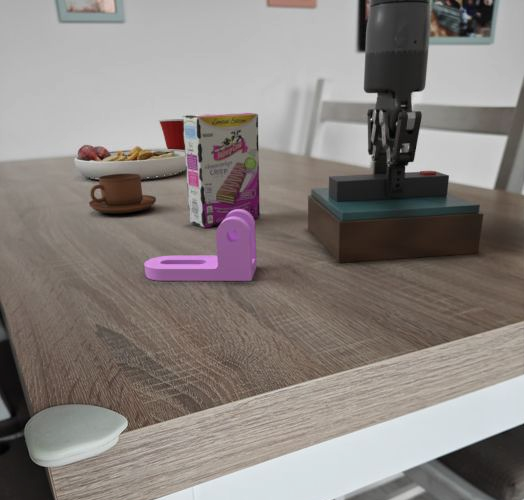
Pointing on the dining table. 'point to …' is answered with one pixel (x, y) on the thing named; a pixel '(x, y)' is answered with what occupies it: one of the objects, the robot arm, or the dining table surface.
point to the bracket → (214, 266)
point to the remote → (376, 186)
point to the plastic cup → (173, 133)
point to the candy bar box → (221, 166)
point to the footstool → (394, 226)
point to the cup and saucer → (120, 194)
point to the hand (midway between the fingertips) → (387, 192)
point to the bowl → (130, 162)
